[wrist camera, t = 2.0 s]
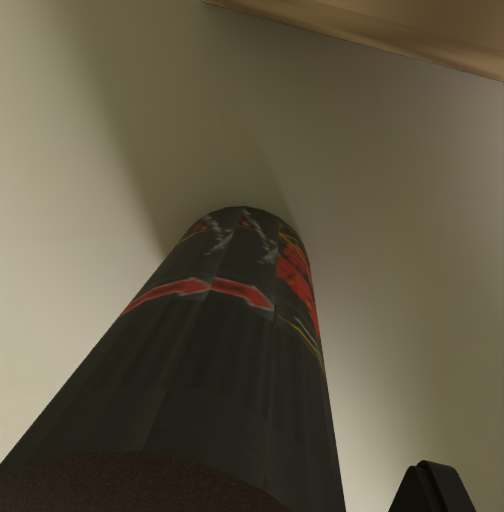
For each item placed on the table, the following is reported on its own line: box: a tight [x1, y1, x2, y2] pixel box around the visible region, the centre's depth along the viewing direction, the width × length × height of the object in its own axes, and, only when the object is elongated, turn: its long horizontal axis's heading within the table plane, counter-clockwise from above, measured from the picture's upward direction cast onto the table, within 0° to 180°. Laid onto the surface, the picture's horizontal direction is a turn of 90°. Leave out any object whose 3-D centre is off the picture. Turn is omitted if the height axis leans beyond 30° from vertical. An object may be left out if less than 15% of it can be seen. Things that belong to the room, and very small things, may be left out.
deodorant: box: [0, 206, 346, 512], centre depth 14 cm, size 6×6×15 cm
